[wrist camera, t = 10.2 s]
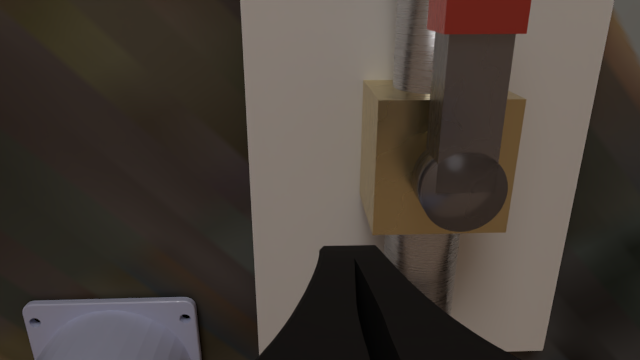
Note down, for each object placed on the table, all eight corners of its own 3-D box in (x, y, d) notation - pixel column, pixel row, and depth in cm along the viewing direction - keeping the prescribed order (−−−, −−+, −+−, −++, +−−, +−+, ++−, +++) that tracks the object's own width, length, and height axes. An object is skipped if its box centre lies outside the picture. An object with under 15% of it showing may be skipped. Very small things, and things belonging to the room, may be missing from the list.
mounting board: (531, 334, 26) (542, 350, 24) (261, 342, 25) (259, 359, 24) (628, -170, 18) (651, -181, 16) (234, -176, 17) (230, -188, 16)
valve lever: (483, 209, 17) (504, 233, 15) (407, 211, 17) (420, 235, 15) (529, -145, 13) (563, -165, 11) (432, -146, 13) (452, -166, 11)
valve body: (452, 314, 24) (486, 383, 20) (354, 316, 24) (366, 387, 19) (503, -111, 17) (568, -143, 13) (368, -113, 17) (391, -146, 13)
